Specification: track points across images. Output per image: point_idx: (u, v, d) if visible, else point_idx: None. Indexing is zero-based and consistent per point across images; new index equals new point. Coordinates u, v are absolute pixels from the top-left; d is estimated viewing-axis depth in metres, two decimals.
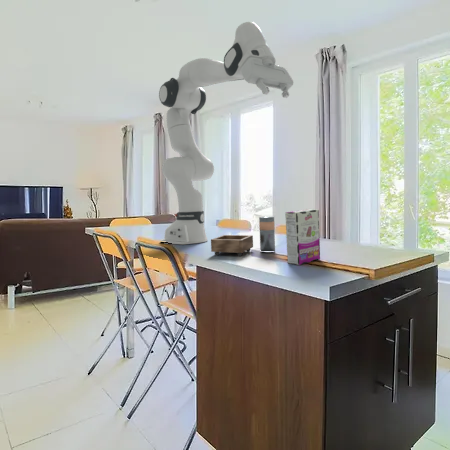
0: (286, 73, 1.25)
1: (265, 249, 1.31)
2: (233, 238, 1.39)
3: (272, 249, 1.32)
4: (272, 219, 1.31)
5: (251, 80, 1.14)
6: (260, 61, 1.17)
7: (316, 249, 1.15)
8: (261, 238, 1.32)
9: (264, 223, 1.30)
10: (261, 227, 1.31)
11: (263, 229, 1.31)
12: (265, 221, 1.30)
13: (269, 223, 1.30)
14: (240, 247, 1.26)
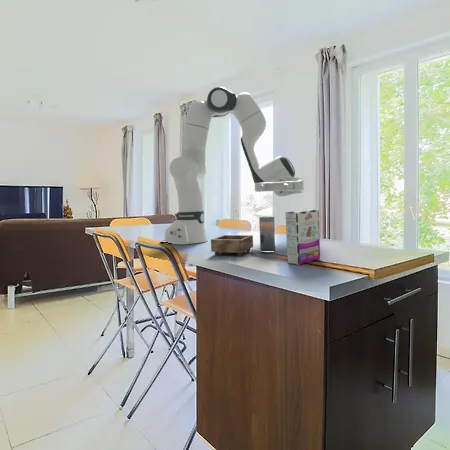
0: None
1: (265, 249, 1.31)
2: (233, 238, 1.39)
3: (272, 249, 1.32)
4: (272, 219, 1.31)
5: (299, 185, 1.43)
6: (291, 191, 1.51)
7: (316, 250, 1.15)
8: (261, 238, 1.32)
9: (264, 223, 1.30)
10: (261, 227, 1.31)
11: (263, 229, 1.31)
12: (265, 221, 1.30)
13: (269, 223, 1.30)
14: (240, 247, 1.26)
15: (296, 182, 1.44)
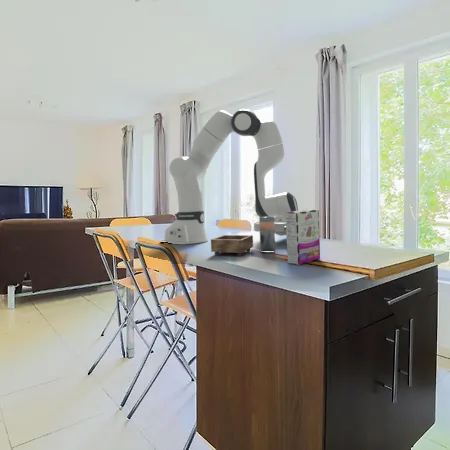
0: None
1: (265, 249, 1.31)
2: (233, 238, 1.39)
3: (272, 249, 1.32)
4: (272, 219, 1.31)
5: None
6: None
7: (316, 250, 1.15)
8: (261, 238, 1.32)
9: (264, 223, 1.30)
10: (261, 227, 1.31)
11: (263, 229, 1.31)
12: (265, 221, 1.30)
13: (269, 223, 1.30)
14: (240, 247, 1.26)
15: None
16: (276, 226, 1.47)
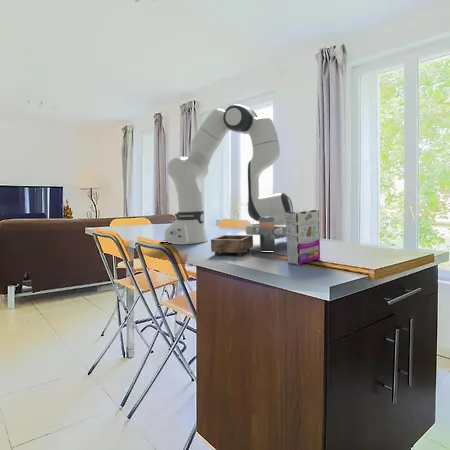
0: None
1: (265, 249, 1.31)
2: (233, 238, 1.39)
3: (272, 249, 1.32)
4: (272, 219, 1.31)
5: None
6: (284, 234, 1.41)
7: (316, 250, 1.15)
8: (261, 238, 1.32)
9: (264, 223, 1.30)
10: (261, 227, 1.31)
11: (263, 229, 1.31)
12: (265, 221, 1.30)
13: (269, 223, 1.30)
14: (240, 247, 1.26)
15: None
16: None
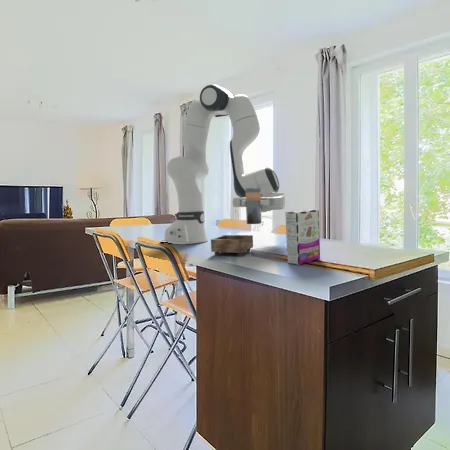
0: None
1: (251, 220, 1.31)
2: (233, 238, 1.39)
3: (258, 220, 1.31)
4: (258, 189, 1.30)
5: (279, 201, 1.32)
6: (271, 207, 1.40)
7: (316, 250, 1.15)
8: (247, 209, 1.31)
9: (251, 193, 1.29)
10: (247, 198, 1.31)
11: (249, 199, 1.30)
12: (251, 191, 1.29)
13: (256, 193, 1.29)
14: (240, 247, 1.26)
15: (276, 198, 1.33)
16: None
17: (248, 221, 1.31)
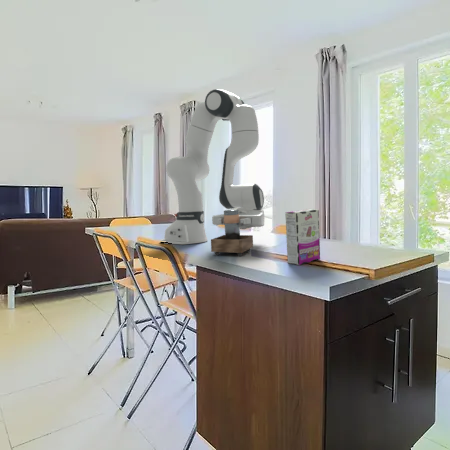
0: None
1: None
2: None
3: None
4: (236, 212, 1.30)
5: (257, 219, 1.33)
6: (251, 225, 1.41)
7: (316, 249, 1.15)
8: (226, 231, 1.32)
9: (228, 216, 1.30)
10: (225, 220, 1.31)
11: (227, 222, 1.31)
12: (229, 214, 1.30)
13: (233, 216, 1.30)
14: (240, 247, 1.26)
15: (254, 216, 1.33)
16: None
17: None
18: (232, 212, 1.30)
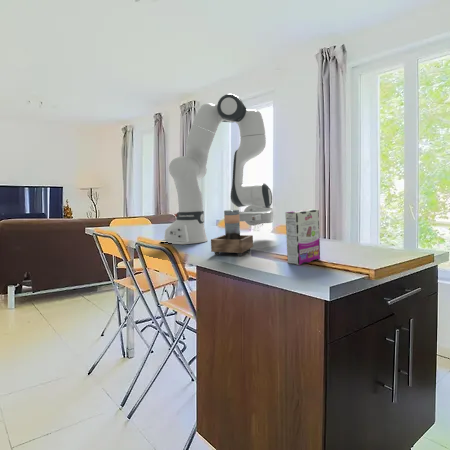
0: None
1: None
2: None
3: None
4: (236, 212, 1.31)
5: (267, 216, 1.44)
6: (260, 221, 1.52)
7: (316, 250, 1.15)
8: (226, 231, 1.32)
9: (229, 216, 1.30)
10: (226, 220, 1.31)
11: (227, 222, 1.31)
12: (229, 214, 1.30)
13: (234, 216, 1.30)
14: (240, 247, 1.26)
15: (264, 213, 1.45)
16: (246, 216, 1.49)
17: None
18: (232, 212, 1.30)
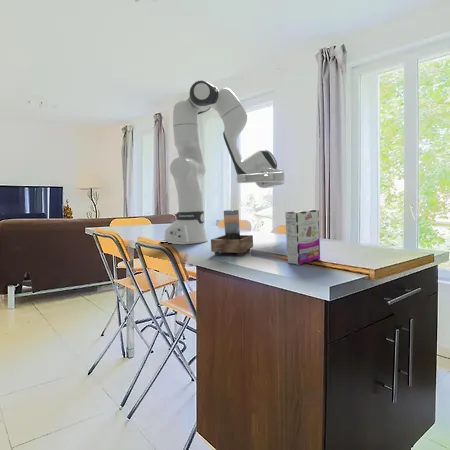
0: None
1: None
2: None
3: None
4: (236, 212, 1.31)
5: (279, 176, 1.46)
6: (272, 183, 1.54)
7: (316, 249, 1.15)
8: (226, 231, 1.32)
9: (228, 216, 1.30)
10: (225, 220, 1.31)
11: (227, 222, 1.31)
12: (229, 214, 1.30)
13: (233, 216, 1.30)
14: (240, 247, 1.26)
15: (276, 173, 1.46)
16: (258, 176, 1.50)
17: None
18: (232, 212, 1.30)
